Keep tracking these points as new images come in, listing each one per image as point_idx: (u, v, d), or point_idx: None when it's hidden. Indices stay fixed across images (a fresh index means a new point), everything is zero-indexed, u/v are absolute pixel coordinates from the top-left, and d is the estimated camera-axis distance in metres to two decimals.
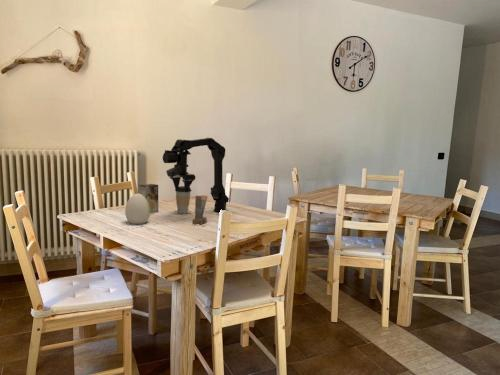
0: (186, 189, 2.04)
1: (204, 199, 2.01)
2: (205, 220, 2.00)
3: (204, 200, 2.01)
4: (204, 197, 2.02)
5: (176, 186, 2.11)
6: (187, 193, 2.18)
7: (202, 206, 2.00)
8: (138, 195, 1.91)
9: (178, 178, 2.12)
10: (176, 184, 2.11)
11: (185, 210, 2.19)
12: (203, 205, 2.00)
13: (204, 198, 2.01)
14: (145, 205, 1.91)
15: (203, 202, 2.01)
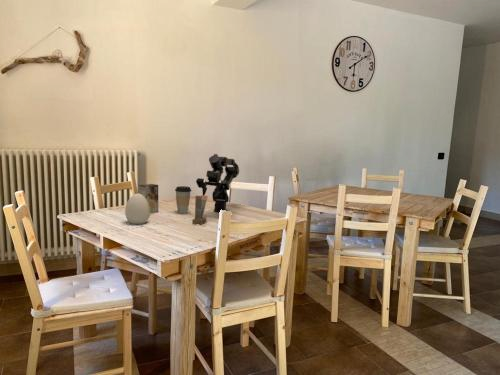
0: (216, 194, 2.09)
1: (204, 199, 2.01)
2: (205, 220, 2.00)
3: (204, 200, 2.01)
4: (204, 197, 2.02)
5: (204, 192, 2.11)
6: (187, 193, 2.18)
7: (202, 206, 2.00)
8: (138, 195, 1.91)
9: (206, 188, 2.14)
10: (204, 191, 2.11)
11: (185, 210, 2.19)
12: (203, 205, 2.00)
13: (204, 198, 2.01)
14: (145, 205, 1.91)
15: (203, 202, 2.01)
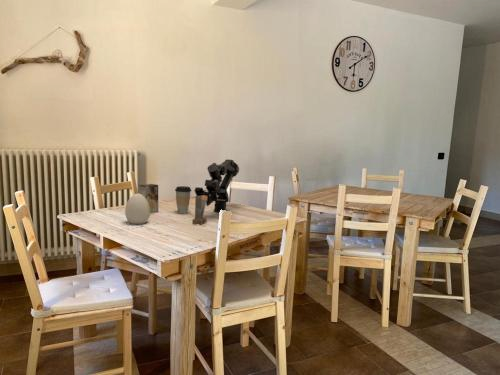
0: (209, 203, 2.08)
1: (204, 199, 2.01)
2: (205, 220, 2.00)
3: (204, 200, 2.01)
4: (204, 197, 2.02)
5: None
6: (187, 193, 2.18)
7: (202, 206, 2.00)
8: (138, 195, 1.91)
9: (209, 197, 2.12)
10: None
11: (185, 210, 2.19)
12: (203, 205, 2.00)
13: (204, 198, 2.01)
14: (145, 205, 1.91)
15: (203, 202, 2.01)
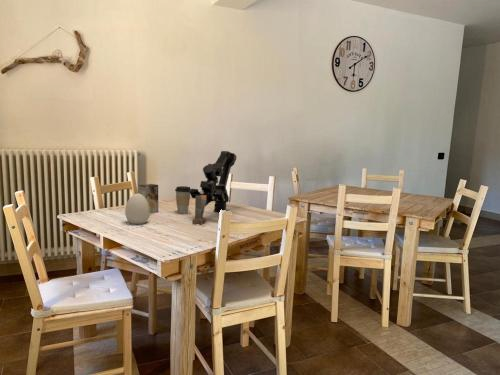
0: None
1: (204, 199, 2.01)
2: (205, 220, 2.00)
3: (204, 200, 2.00)
4: (204, 197, 2.01)
5: None
6: (187, 193, 2.18)
7: (202, 206, 2.00)
8: (138, 195, 1.91)
9: None
10: None
11: (185, 210, 2.19)
12: (203, 205, 2.00)
13: (204, 198, 2.01)
14: (145, 205, 1.91)
15: (203, 202, 2.00)
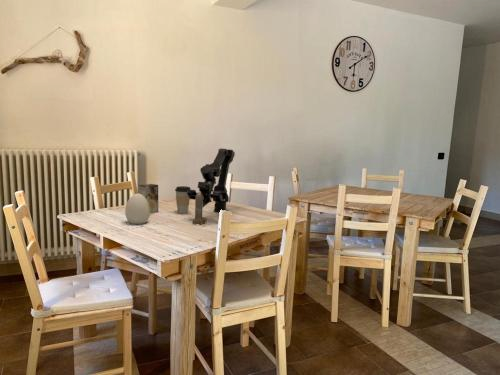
0: None
1: None
2: (205, 220, 2.00)
3: None
4: None
5: None
6: None
7: None
8: (138, 195, 1.91)
9: None
10: None
11: (185, 210, 2.19)
12: None
13: None
14: (145, 205, 1.91)
15: None
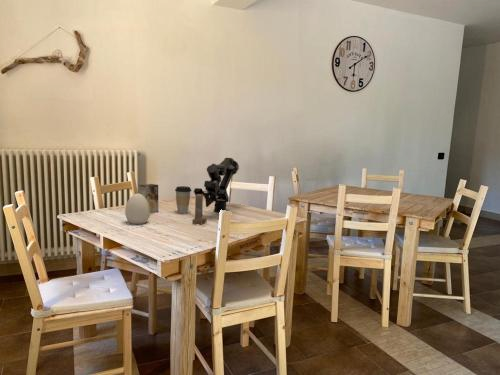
0: (208, 204, 2.08)
1: None
2: (205, 220, 2.00)
3: None
4: None
5: None
6: (187, 193, 2.18)
7: None
8: (138, 195, 1.91)
9: (209, 198, 2.12)
10: None
11: (185, 210, 2.19)
12: None
13: None
14: (145, 205, 1.91)
15: None
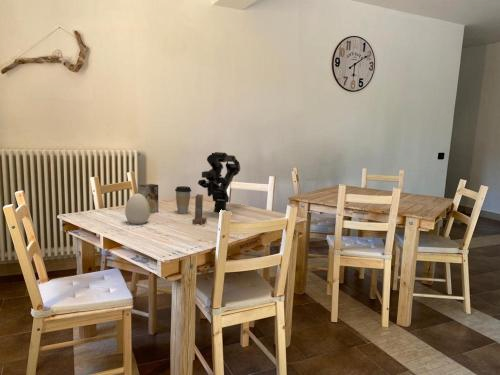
0: (210, 193, 2.12)
1: None
2: (205, 220, 2.00)
3: None
4: None
5: None
6: (187, 193, 2.18)
7: None
8: (138, 195, 1.91)
9: None
10: None
11: (185, 210, 2.19)
12: None
13: None
14: (145, 205, 1.91)
15: None
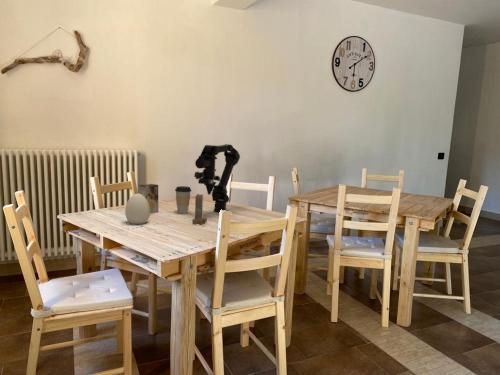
0: (208, 191, 2.16)
1: None
2: (205, 220, 2.00)
3: None
4: None
5: None
6: (187, 193, 2.18)
7: None
8: (138, 195, 1.91)
9: None
10: None
11: (185, 210, 2.19)
12: None
13: None
14: (145, 205, 1.91)
15: None
